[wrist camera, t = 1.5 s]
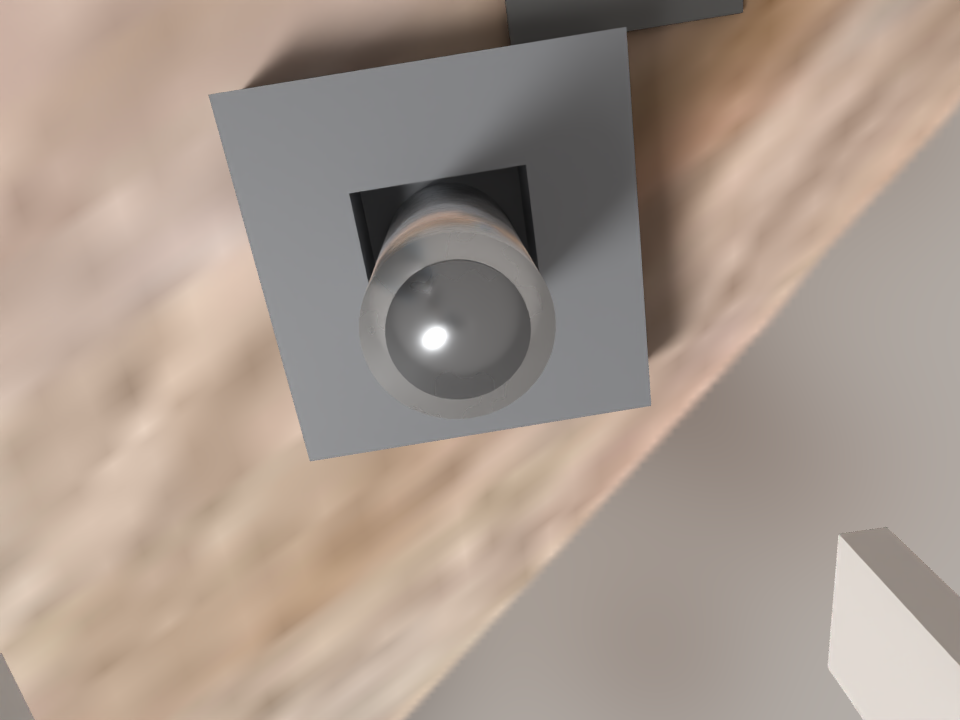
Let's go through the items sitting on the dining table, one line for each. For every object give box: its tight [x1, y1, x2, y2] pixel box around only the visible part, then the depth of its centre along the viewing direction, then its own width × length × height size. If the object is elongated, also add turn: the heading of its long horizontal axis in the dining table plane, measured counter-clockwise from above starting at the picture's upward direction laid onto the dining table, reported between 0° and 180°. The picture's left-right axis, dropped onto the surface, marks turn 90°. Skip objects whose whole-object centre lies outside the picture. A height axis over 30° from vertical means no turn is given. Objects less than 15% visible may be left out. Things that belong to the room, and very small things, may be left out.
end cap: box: [359, 183, 556, 419], centre depth 26 cm, size 6×6×12 cm
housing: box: [209, 27, 651, 461], centre depth 31 cm, size 16×16×4 cm
